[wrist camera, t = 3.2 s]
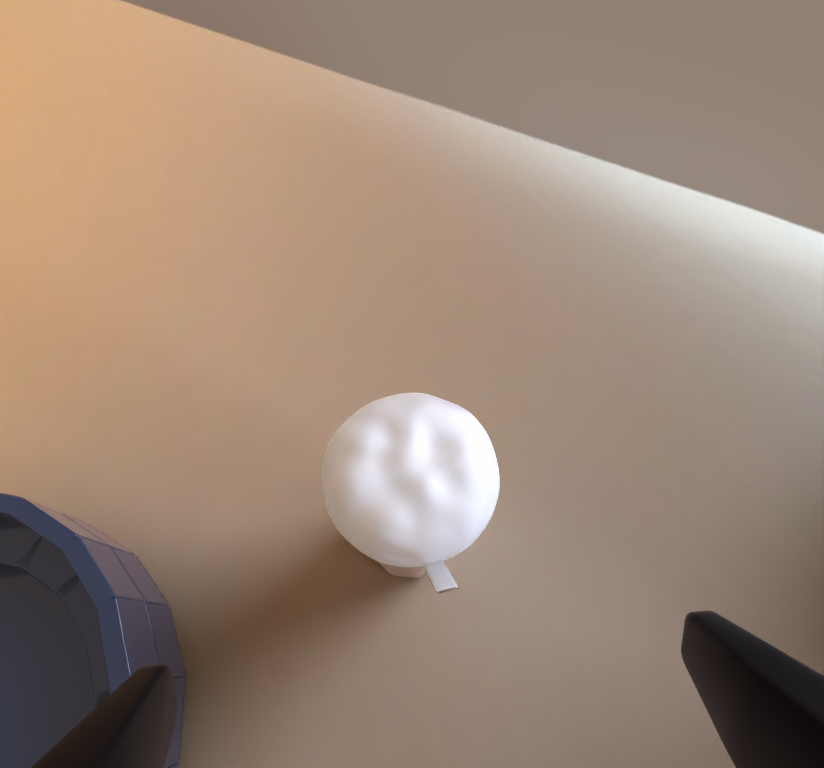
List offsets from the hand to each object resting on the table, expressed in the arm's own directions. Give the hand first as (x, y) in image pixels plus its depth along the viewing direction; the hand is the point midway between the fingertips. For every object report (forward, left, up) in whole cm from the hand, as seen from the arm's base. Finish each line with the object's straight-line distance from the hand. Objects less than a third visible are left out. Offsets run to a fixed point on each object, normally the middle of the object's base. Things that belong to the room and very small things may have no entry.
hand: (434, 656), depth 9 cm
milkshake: (+3, +2, -11) cm, 11 cm away
